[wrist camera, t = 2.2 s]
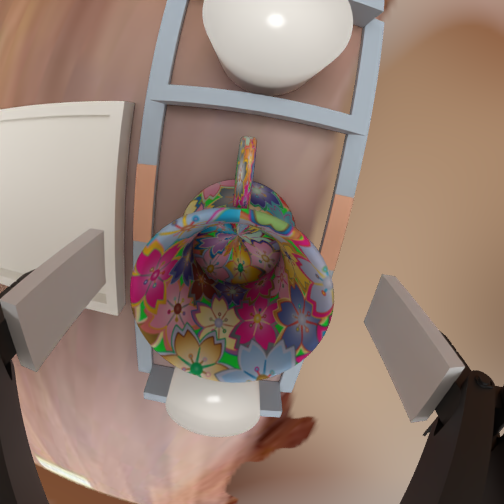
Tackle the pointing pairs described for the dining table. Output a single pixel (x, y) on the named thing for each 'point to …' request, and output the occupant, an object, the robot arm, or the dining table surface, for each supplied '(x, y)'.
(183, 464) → the dining table surface
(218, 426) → the white rounded egg
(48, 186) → the tray
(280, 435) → the dining table surface
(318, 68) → the white glossy dome
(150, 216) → the rack
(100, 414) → the dining table surface
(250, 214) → the mug
